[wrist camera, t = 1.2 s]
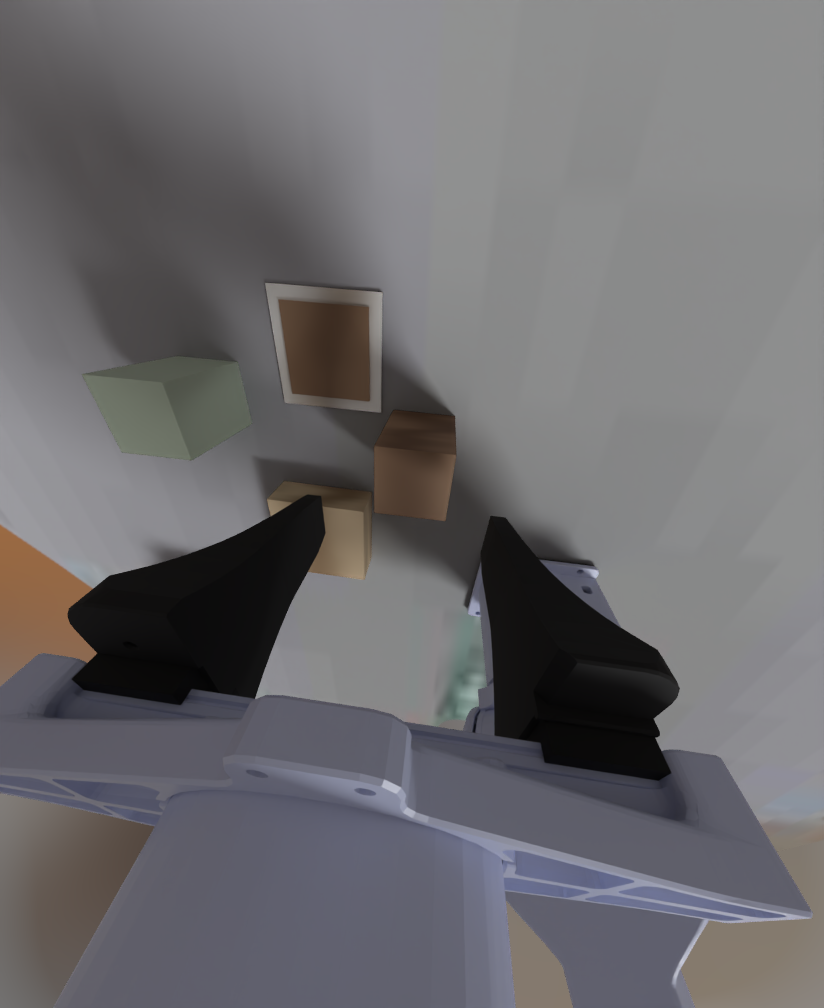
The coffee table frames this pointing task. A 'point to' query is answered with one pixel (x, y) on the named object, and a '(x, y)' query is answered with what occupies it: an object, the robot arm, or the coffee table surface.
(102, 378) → the sage green block
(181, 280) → the coffee table surface
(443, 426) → the walnut block
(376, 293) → the swatch
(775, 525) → the coffee table surface
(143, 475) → the coffee table surface
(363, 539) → the oak base block
